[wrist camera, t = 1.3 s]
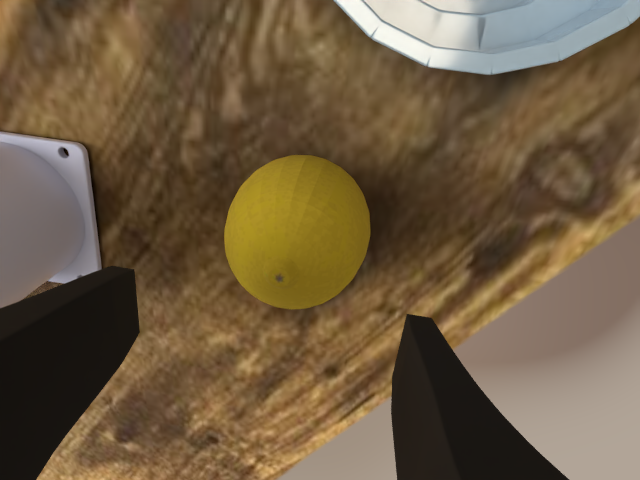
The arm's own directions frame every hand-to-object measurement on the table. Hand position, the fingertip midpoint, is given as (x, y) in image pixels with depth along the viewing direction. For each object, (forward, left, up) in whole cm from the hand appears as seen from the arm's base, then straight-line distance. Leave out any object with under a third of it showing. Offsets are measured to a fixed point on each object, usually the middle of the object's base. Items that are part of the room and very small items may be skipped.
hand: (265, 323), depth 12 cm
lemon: (0, 0, -11) cm, 11 cm away
